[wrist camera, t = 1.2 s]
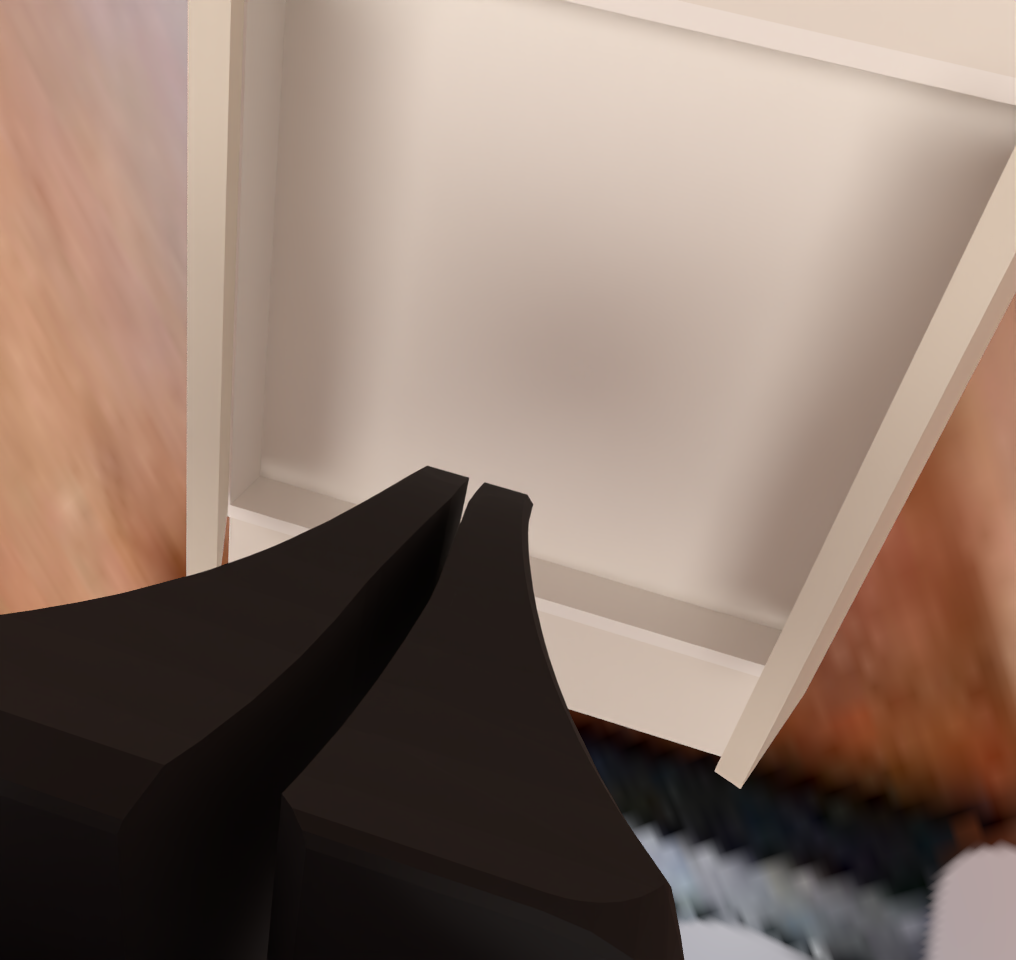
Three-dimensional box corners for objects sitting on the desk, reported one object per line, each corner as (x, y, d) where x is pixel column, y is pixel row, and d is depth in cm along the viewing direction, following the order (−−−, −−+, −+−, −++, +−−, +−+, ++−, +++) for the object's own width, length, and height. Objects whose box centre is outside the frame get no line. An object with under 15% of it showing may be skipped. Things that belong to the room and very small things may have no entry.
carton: (753, 715, 24) (756, 767, 23) (247, 560, 26) (214, 597, 24) (1152, -96, 14) (1213, -115, 13) (288, -276, 16) (236, -315, 14)
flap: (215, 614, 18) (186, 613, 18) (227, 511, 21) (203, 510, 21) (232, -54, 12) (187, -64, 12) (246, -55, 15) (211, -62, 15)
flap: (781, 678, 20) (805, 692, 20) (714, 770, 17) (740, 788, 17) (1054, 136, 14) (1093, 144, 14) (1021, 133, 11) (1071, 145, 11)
